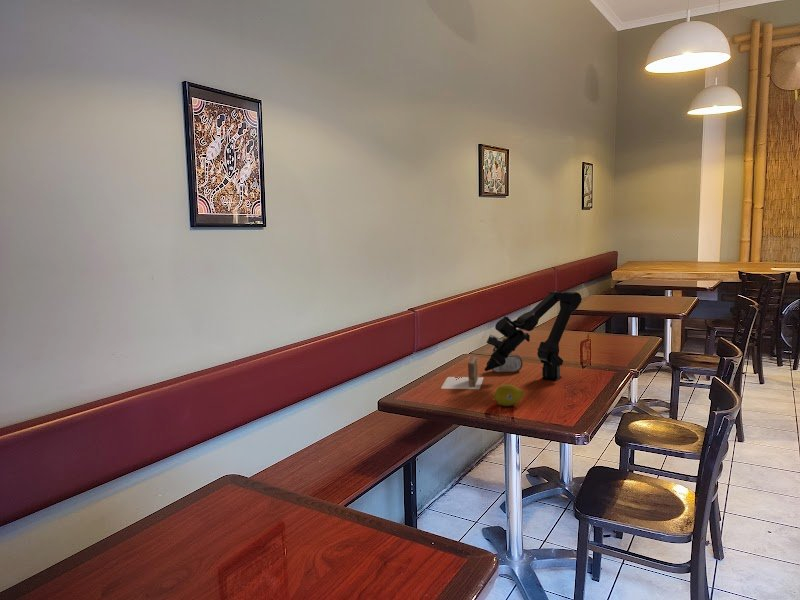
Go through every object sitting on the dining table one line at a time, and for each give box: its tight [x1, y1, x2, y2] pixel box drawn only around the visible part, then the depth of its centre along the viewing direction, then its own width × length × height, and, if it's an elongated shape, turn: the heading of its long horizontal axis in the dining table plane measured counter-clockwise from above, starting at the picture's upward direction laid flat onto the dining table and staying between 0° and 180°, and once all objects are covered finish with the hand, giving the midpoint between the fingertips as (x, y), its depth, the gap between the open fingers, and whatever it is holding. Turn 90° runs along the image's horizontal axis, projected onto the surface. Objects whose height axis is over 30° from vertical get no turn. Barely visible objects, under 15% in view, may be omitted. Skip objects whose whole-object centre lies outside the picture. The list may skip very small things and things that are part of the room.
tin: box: [490, 353, 524, 373], centre depth 261 cm, size 15×3×8 cm, turn 84°
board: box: [467, 356, 479, 387], centre depth 245 cm, size 2×12×10 cm, turn 166°
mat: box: [440, 376, 484, 390], centre depth 247 cm, size 16×18×1 cm
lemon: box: [492, 383, 524, 407], centre depth 213 cm, size 11×8×8 cm
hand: (486, 367), depth 243 cm, fingers open, 9 cm apart
